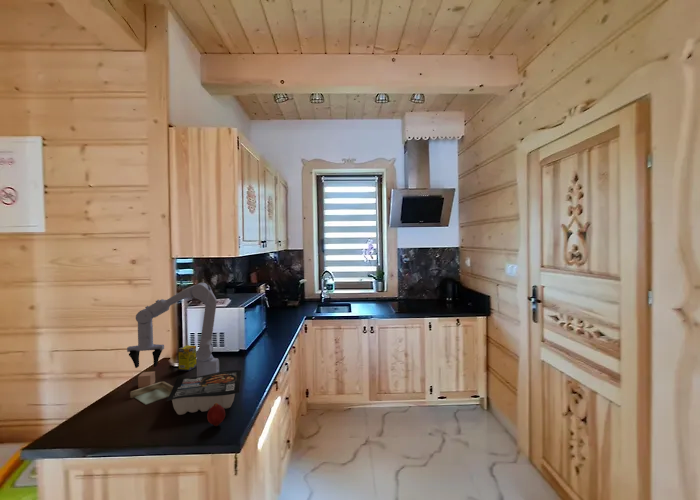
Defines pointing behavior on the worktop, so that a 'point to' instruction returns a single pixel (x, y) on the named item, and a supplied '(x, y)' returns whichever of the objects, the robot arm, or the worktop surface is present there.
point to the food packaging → (205, 391)
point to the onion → (216, 414)
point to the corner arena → (152, 392)
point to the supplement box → (187, 358)
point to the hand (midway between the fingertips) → (146, 366)
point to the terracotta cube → (146, 379)
